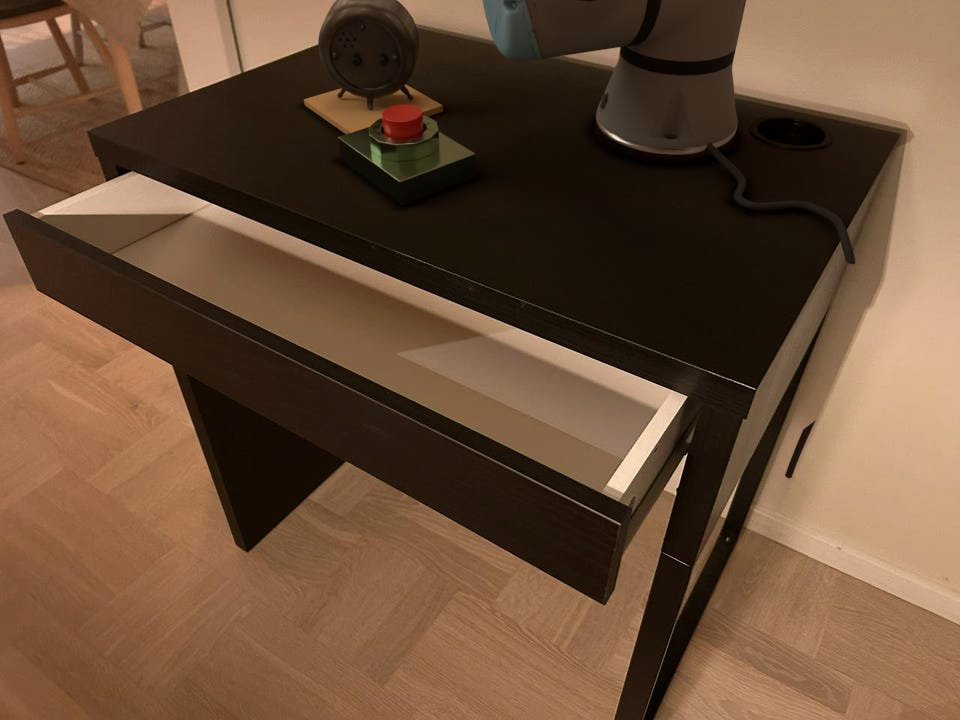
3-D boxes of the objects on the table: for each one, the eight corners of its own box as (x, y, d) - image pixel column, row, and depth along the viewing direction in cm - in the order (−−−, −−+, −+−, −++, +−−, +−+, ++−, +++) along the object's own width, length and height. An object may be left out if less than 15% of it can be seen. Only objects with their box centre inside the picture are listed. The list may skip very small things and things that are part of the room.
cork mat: (443, 111, 88) (442, 105, 88) (355, 141, 83) (354, 134, 82) (389, 80, 95) (388, 74, 95) (304, 105, 90) (303, 99, 90)
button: (431, 133, 75) (430, 114, 74) (397, 145, 73) (396, 125, 72) (409, 120, 77) (408, 100, 76) (376, 131, 76) (374, 111, 74)
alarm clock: (423, 94, 90) (413, -56, 79) (417, 113, 86) (406, -41, 75) (333, 93, 91) (311, -56, 80) (324, 112, 87) (299, -42, 76)
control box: (476, 177, 76) (475, 136, 73) (402, 206, 73) (398, 164, 69) (411, 136, 84) (408, 97, 81) (341, 160, 80) (334, 120, 77)
